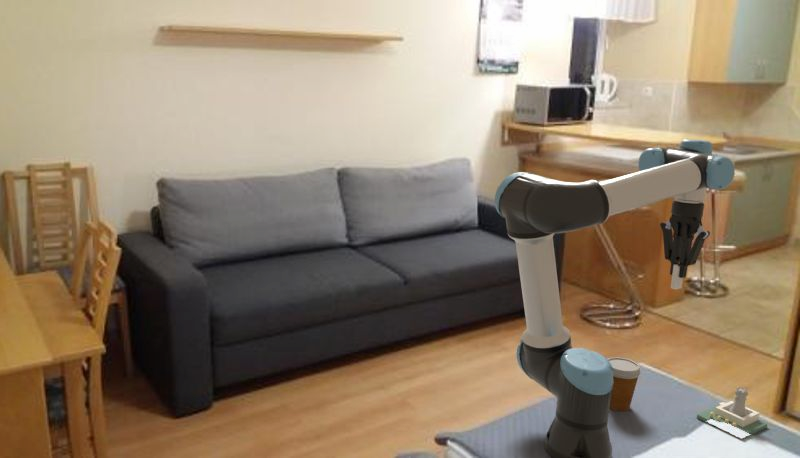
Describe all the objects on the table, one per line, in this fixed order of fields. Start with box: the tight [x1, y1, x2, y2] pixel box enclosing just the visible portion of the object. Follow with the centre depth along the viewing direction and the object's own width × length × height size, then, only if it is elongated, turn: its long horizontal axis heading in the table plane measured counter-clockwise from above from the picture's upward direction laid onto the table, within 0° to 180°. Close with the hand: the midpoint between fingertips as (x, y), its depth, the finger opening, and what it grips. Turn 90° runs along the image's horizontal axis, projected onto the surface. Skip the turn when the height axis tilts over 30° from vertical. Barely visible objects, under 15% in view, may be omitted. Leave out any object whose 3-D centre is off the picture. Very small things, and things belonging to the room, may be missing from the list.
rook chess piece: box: [729, 386, 749, 417], centre depth 168 cm, size 4×4×8 cm
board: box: [696, 400, 768, 435], centre depth 167 cm, size 12×12×3 cm
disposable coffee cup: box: [607, 356, 642, 412], centre depth 173 cm, size 10×10×12 cm
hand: (675, 288), depth 171 cm, fingers closed
